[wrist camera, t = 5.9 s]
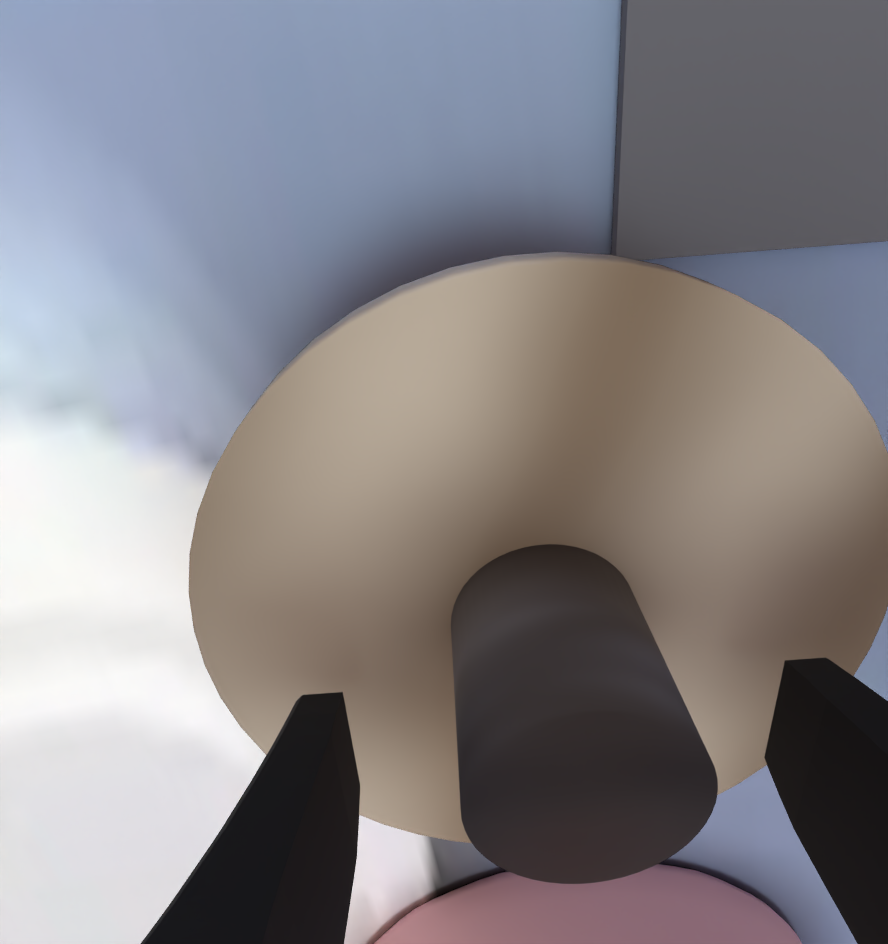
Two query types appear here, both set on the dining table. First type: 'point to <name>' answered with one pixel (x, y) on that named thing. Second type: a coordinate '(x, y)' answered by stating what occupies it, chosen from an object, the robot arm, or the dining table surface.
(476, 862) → the dining table surface
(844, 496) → the lid
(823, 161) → the mat
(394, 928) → the cake
